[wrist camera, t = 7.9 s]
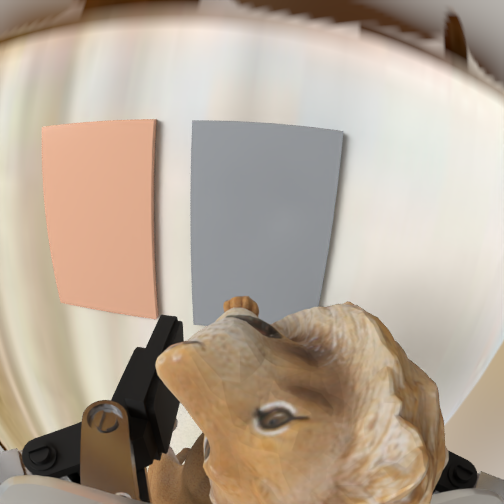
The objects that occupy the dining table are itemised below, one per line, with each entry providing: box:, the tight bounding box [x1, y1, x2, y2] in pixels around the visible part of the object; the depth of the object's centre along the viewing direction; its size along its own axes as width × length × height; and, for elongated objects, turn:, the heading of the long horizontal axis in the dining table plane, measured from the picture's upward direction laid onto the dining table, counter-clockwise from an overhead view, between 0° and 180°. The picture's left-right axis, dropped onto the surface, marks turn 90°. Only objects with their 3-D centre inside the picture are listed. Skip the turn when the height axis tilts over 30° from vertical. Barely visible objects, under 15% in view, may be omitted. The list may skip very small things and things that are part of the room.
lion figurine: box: [147, 296, 449, 504], centre depth 8 cm, size 15×5×9 cm, turn 159°
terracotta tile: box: [42, 119, 158, 319], centre depth 23 cm, size 10×16×1 cm, turn 175°
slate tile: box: [191, 121, 343, 326], centre depth 23 cm, size 10×16×1 cm, turn 177°
